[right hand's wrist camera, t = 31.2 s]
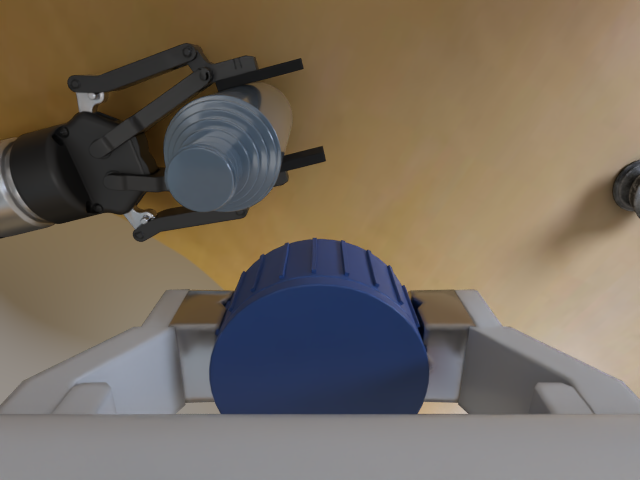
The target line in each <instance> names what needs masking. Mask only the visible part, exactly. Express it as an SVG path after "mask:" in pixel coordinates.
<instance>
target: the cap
mask: <svg viewBox="0 0 640 480" xmlns="http://www.w3.org/2000/svg"><path fill="white" fill-rule="evenodd" d="M225 308H226V314H225V317H224V319H223V322H222V324H221V327H220V329H219V330H218V329H217V330H216V332H215V335H218V337H217V339H216V342H215V345H214V348H213V351H212V354H211V358H210V365H209V381H210V387H211V392H212V395H213V398H214V401H215V404H216V406H217V407H218V409H219V411H220V413H221V414H418V412H419V410H420V408H421V407H422V404H423V402H424V399H425V396H426V393H427V389H428V384H429V363H428V357H427V353H426V352H427V347H425V346H424V344H423V341H422V338H421V335H420V333H419V330H418V327H420V324H419V322H418V319H417V316H416V314H415V311H414V308H413V306H412V303H411V300H410V298H409V295H408V293H407V290H406V287H405V285H403V286H401V283H400V282H399V280H398V279H397V277H396V276H395V274H394V273H393V270H392V267H391V266H390V265H389V266H387V265H386V264H385V263H383V262H382V261H381V260H380V259H379V258H377V257H376V256H374V255H373V254H371V251H370V250H367V251H366V250H364V249H362V248H360V247H358V246H355V245H352V244H349V243H346V242H345V241H343V240H341V241H336V240H326V239H317V238H313V239H312V240H303V241H297V242H293V243H290V244H289V243H285V245H283V246H281V247H279V248H277V249H274V250H272V251H271V252H269V253H267V254H266V255H264V254H262V255H261V256H260V259H259V260H258V261H256V262H255V263H254V264H253V265H252V266H251V267H250V268H249V269H248V270H247V271H246V272H244V271H243V273H242V274H241V277H240V280H239V282H238V285H237V287H236V289H235V291H234V293H233V295H232V298H231V301H228V302H227V304H226V306H225Z"/></svg>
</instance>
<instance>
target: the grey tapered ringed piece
mask: <svg viewBox="0 0 640 480" xmlns="http://www.w3.org/2000/svg"><path fill="white" fill-rule="evenodd" d="M613 195H614V199H615V201H616V203H617V204H618V205H619V206H620V207H621V208H623V209H625V210H627V211H635V212H636V214H637V216H638V217H639V218H640V160H638V161H636V162H633V163H631V164H630V165H628V166H627V167H626V168H625V169H624V170H623V171H622V172H621V173H620V174H619V176H618V177H617V179H616V181H615V184H614V188H613Z"/></svg>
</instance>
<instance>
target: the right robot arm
mask: <svg viewBox="0 0 640 480" xmlns="http://www.w3.org/2000/svg"><path fill="white" fill-rule="evenodd" d="M233 293H234V291H228V290H189V289H182V290H166V291H165V293H164V294H163V296H162V297H161V298H160V300H159V301H158V303H157V304H156V306H155V307H154V309H153V310H152V311H151V313H150V314H149V316H148V317H147V319H146V320H145V322H144V323H143V325H142V326H141V327H133V328H130V329H128V330H126V331H124V332H122V333H120V334H118V335H116V336H114V337H112V338H110V339H108V340H106V341H104V342H102V343H100V344H98V345H96V346H94V347H91V348H89V349H87V350H85V351H83V352H81V353H79V354H77V355H75V356H73V357H71V358H69V359H67V360H65V361H63V362H61V363H59V364H57V365H55V366H53V367H51V368H48V369H46V370H44V371H42V372H40V373H38V374H36V375H34V376H32V377H30V378H28V379H26V380H24V381H23V382H22V383H21V384H20V385H19V386H18V387H17V388H16V389H15V390H14V391H13V392H12V393H11V394H10V395H9V396H8V398H7V399H6V400H5V401H4V402H3V403H2V404H1V405H0V480H640V399H639V398H638V397H637V396H636V395H635V394H634V393H633V392H632V391H631V390H630V389H629V387H628V386H627V385H626V384H625V383H624V382H623V381H621V380H619V379H617V378H615V377H613V376H611V375H609V374H606V373H604V372H602V371H600V370H598V369H596V368H594V367H592V366H590V365H588V364H586V363H584V362H582V361H580V360H578V359H576V358H573V357H571V356H569V355H567V354H565V353H563V352H561V351H559V350H557V349H555V348H553V347H551V346H549V345H547V344H545V343H543V342H540V341H538V340H536V339H534V338H532V337H530V336H528V335H526V334H524V333H522V332H520V331H518V330H516V329H514V328H512V327H503V326H502V325H501V323H500V322H499V320H498V319H497V318H496V316H495V315H494V313H493V312H492V310H491V309H490V308H489V306H488V305H487V303H486V302H485V301H484V299H483V298H482V296H481V295H480V294H479V292H478V291H477V290H474V289H468V290H417V291H409V292H408V295H409V298H410V300H411V303H412V306H413V308H414V311H415V314H416V316H417V319H418V322H419V324H420V327H418V330H419V333H420V335H421V338H422V341H423V344H424V346H425V347H427V352H426V353H427V357H428V363H429V384H428V389H427V393H426V396H425V399H424V402H453V403H458V405H459V406H461V407H462V408H463V409H464V410H465V411H466V412H467V413H468V414H176V413H177V412H178V411H179V410H180V409H181V408H182V407H183V406H185V403H191V402H215V401H214V398H213V395H212V392H211V387H210V381H209V365H210V358H211V354H212V351H213V348H214V345H215V342H216V339H217V337H218V335H215V332H216V330H217V329H218V330H219V329H220V327H221V324H222V322H223V319H224V317H225V314H226V308H225V306H226V304H227V302H228V301H231V298H232V295H233Z"/></svg>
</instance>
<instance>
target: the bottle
mask: <svg viewBox="0 0 640 480" xmlns="http://www.w3.org/2000/svg"><path fill="white" fill-rule="evenodd" d="M292 123H293V115H292V109H291V106H290V104H289V102H288V100H287V98H286V97H285V95H284V94H283V93H282V92H281V91H280V90H278V89H277V88H276V87H274V86H272V85H270V84H267V83H263V82H253V83H249V84H245V85H241V86H238V87H234V88H230V89H227V90H223V91H220V92H217V93H213V94H210V95H207V96H203V97H200V98H198V99H195V100H193V101H191V102H189V103H188V104H186V105H185V106H184V107H182V108H181V109H180V110H179V111H178V112H177V113H176V114H175V116H174V117H173V119H172V120H171V122H170V124H169V126H168V128H167V131H166V134H165V139H164V149H163V150H164V161H165V165H166V169H165V184H166V187H167V190H169V191H170V193H171V194H172V196H173V197H174V198H175V200H176V201H177V202H178V203H180V204H181V205H182V206H184V207H186V208H187V209H190V210H193V211H197V212H209V211H218V212H233V211H239V210H243V209H246V208H249V207H251V206H253V205H255V204H257V203H258V202H259V201H261V200H262V199H263V198H264V197H265V196H266V195H267V194H268V193H269V192H270V191H271V189H272V188H273V186H274V185H275V183H276V181H277V178H278V176H279V172H280V169H281V165H282V161H283V158H284V154H285V150H286V147H287V143H288V139H289V136H290V132H291V128H292Z"/></svg>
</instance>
